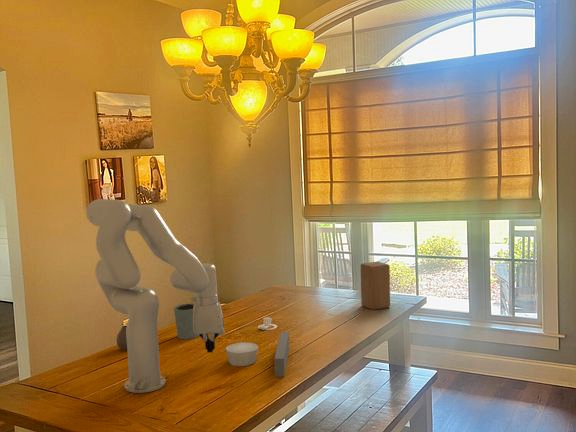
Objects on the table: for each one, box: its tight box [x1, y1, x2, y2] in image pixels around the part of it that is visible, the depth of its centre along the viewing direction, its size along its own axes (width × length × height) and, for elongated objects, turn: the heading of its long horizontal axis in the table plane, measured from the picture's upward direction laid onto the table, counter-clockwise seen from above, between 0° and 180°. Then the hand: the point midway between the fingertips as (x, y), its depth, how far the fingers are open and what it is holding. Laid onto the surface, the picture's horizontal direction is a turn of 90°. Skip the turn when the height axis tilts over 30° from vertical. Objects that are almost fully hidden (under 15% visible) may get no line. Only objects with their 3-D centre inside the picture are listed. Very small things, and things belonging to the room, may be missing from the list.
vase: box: [116, 325, 127, 351], centre depth 217 cm, size 7×7×9 cm
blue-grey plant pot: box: [173, 303, 199, 340], centre depth 230 cm, size 10×10×12 cm
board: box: [274, 331, 290, 378], centre depth 198 cm, size 28×3×6 cm, turn 176°
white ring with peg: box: [257, 316, 278, 331], centre depth 239 cm, size 9×8×4 cm
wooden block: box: [360, 261, 391, 311], centre depth 264 cm, size 10×10×20 cm
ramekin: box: [225, 341, 259, 367], centre depth 199 cm, size 11×11×5 cm
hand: (210, 351), depth 200 cm, fingers closed
